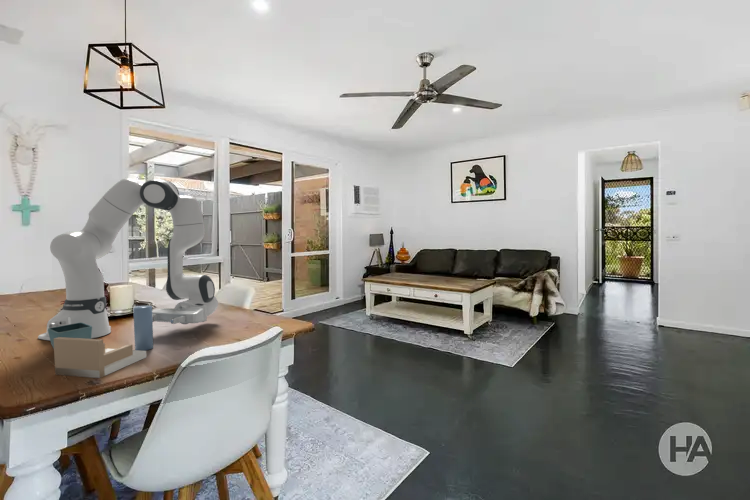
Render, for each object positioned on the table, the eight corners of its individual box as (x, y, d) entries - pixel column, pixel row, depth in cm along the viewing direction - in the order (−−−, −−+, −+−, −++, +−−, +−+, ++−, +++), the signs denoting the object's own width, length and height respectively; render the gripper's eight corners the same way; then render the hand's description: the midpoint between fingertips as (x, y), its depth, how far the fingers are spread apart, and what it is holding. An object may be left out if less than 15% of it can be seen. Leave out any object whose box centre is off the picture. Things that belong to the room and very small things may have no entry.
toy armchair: (55, 374, 99) (53, 338, 98) (107, 354, 114) (106, 323, 114) (99, 378, 96) (98, 341, 96) (146, 357, 112) (145, 325, 112)
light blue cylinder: (131, 350, 118) (129, 308, 117) (143, 345, 123) (142, 305, 122) (145, 351, 117) (143, 309, 116) (157, 346, 122) (155, 305, 121)
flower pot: (59, 362, 108) (57, 332, 108) (48, 356, 113) (47, 328, 112) (94, 353, 115) (92, 325, 115) (82, 348, 120) (81, 322, 120)
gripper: (162, 303, 142) (134, 310, 129) (210, 305, 139) (186, 313, 125) (163, 318, 143) (134, 328, 129) (210, 321, 139) (186, 331, 126)
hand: (160, 320), depth 127 cm, fingers open, 8 cm apart
